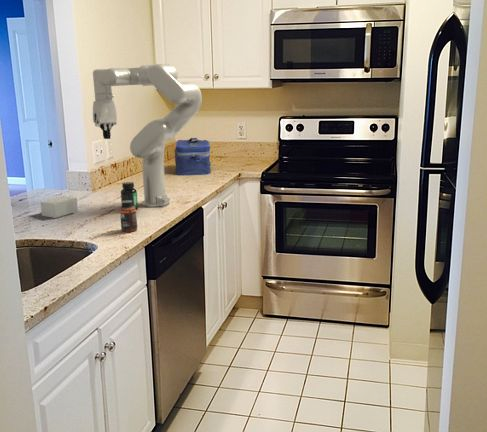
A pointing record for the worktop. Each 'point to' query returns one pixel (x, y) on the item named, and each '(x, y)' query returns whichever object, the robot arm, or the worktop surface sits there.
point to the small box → (59, 206)
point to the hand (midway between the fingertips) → (107, 138)
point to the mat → (39, 216)
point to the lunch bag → (192, 157)
